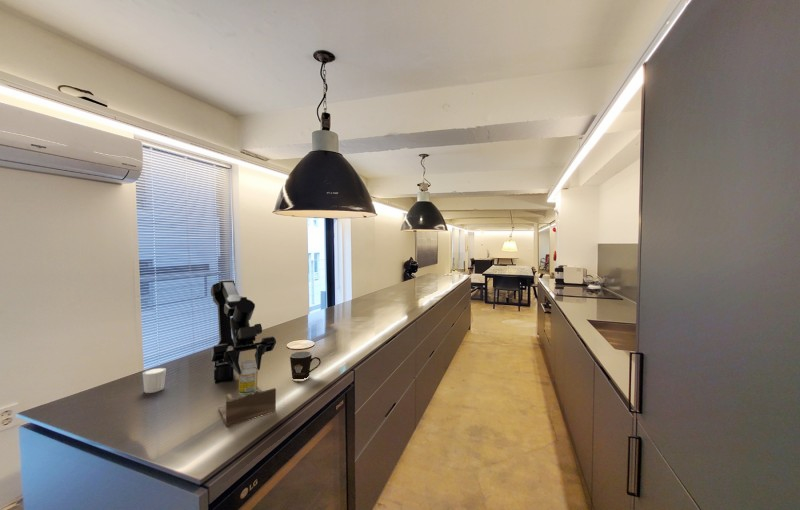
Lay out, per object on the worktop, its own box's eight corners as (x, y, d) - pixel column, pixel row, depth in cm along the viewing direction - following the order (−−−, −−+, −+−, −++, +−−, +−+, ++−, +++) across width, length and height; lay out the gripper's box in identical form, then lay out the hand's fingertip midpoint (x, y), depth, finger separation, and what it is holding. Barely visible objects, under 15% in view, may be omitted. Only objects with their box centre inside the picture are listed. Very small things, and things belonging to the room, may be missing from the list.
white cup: (152, 394, 108) (152, 375, 108) (137, 392, 110) (137, 373, 110) (170, 386, 115) (170, 368, 115) (155, 384, 116) (156, 366, 116)
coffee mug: (284, 381, 121) (285, 356, 121) (299, 373, 129) (299, 350, 129) (308, 385, 117) (308, 360, 117) (321, 377, 125) (322, 353, 125)
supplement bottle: (249, 396, 93) (249, 365, 93) (234, 395, 94) (234, 364, 94) (260, 389, 99) (261, 359, 99) (246, 387, 100) (247, 358, 100)
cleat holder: (218, 411, 97) (218, 388, 97) (263, 398, 106) (264, 377, 106) (226, 427, 88) (226, 402, 88) (275, 411, 97) (275, 389, 97)
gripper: (213, 320, 94) (219, 365, 85) (274, 313, 106) (285, 352, 97) (208, 339, 99) (214, 384, 91) (267, 331, 112) (277, 369, 103)
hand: (249, 371), depth 96 cm, fingers closed on supplement bottle, 5 cm apart
